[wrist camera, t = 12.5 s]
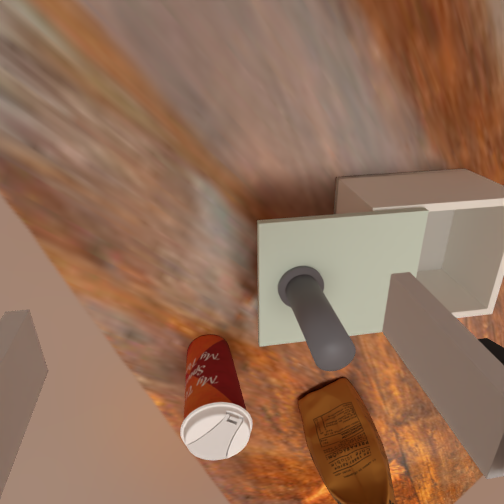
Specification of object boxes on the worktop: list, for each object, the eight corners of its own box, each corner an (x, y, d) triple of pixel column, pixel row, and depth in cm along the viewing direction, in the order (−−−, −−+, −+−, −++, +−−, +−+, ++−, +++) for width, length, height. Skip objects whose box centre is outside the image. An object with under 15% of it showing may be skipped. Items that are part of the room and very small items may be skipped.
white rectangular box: (336, 176, 48) (372, 208, 39) (465, 168, 50) (527, 196, 41) (328, 282, 54) (357, 329, 46) (442, 270, 57) (492, 313, 48)
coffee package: (310, 444, 68) (364, 605, 49) (288, 393, 62) (340, 553, 43) (368, 422, 68) (445, 575, 49) (351, 369, 62) (432, 519, 43)
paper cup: (198, 319, 54) (206, 402, 41) (248, 341, 57) (268, 425, 44) (167, 361, 56) (166, 453, 44) (216, 381, 59) (227, 472, 47)
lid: (257, 220, 38) (285, 282, 28) (424, 207, 40) (502, 260, 30) (258, 341, 44) (281, 426, 34) (402, 324, 46) (462, 399, 36)
